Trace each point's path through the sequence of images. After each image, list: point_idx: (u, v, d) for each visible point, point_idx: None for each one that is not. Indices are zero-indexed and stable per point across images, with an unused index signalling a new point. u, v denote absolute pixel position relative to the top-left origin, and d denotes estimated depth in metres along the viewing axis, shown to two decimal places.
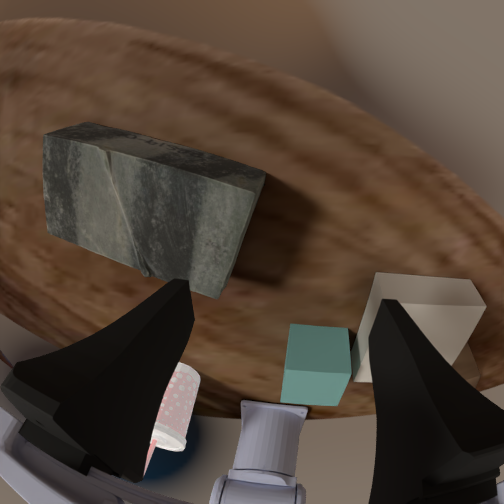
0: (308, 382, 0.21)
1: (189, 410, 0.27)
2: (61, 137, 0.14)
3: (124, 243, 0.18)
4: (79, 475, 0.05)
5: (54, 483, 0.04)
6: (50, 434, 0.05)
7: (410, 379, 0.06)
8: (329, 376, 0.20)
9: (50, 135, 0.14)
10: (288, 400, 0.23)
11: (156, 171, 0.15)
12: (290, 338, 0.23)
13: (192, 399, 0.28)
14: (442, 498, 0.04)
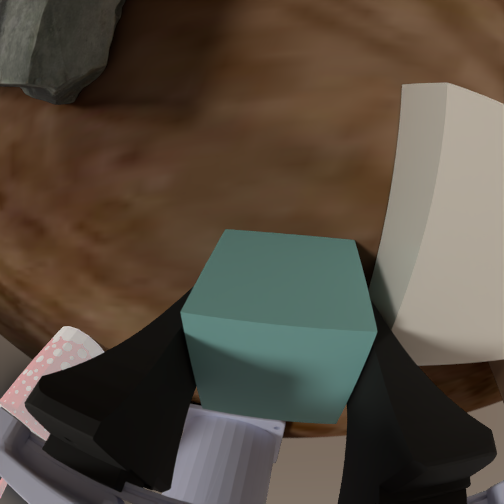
0: (254, 359, 0.08)
1: None
2: None
3: None
4: (79, 475, 0.05)
5: (54, 483, 0.04)
6: (79, 450, 0.05)
7: (374, 379, 0.07)
8: (311, 340, 0.07)
9: None
10: (218, 406, 0.10)
11: None
12: (216, 250, 0.10)
13: None
14: None
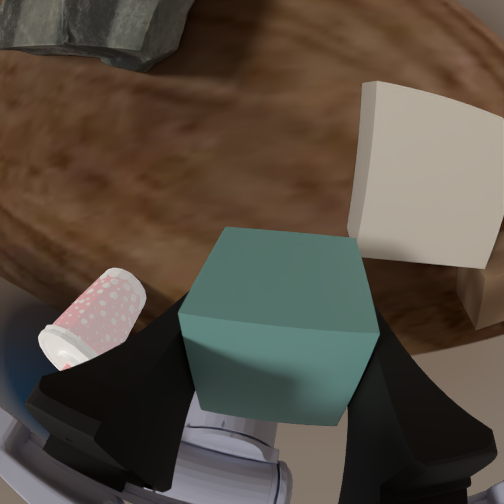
0: (253, 361, 0.08)
1: (120, 328, 0.20)
2: None
3: (54, 19, 0.09)
4: (79, 475, 0.05)
5: (54, 483, 0.04)
6: (79, 450, 0.05)
7: (375, 380, 0.07)
8: (312, 342, 0.07)
9: None
10: (217, 408, 0.09)
11: None
12: (215, 249, 0.10)
13: (127, 315, 0.21)
14: None
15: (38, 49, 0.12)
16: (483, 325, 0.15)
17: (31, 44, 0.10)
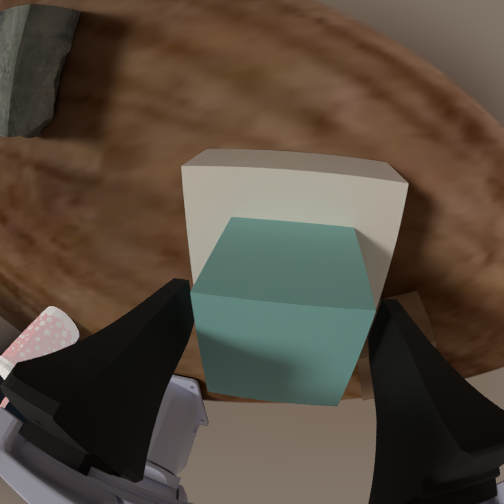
0: (259, 338, 0.08)
1: None
2: None
3: None
4: (79, 475, 0.05)
5: (54, 483, 0.04)
6: (50, 434, 0.05)
7: (410, 379, 0.06)
8: (314, 318, 0.08)
9: None
10: (223, 389, 0.10)
11: None
12: (223, 237, 0.11)
13: (59, 348, 0.22)
14: (442, 498, 0.04)
15: None
16: (372, 396, 0.16)
17: None
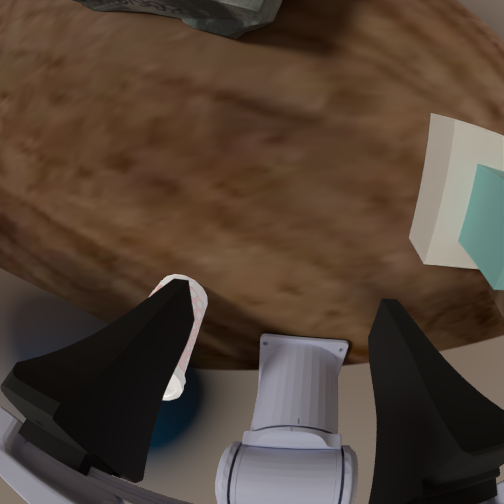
0: None
1: (191, 335, 0.21)
2: None
3: None
4: (79, 475, 0.05)
5: (54, 483, 0.04)
6: (50, 434, 0.05)
7: (410, 379, 0.06)
8: None
9: None
10: None
11: None
12: (495, 172, 0.11)
13: (196, 322, 0.22)
14: (442, 498, 0.04)
15: (111, 0, 0.11)
16: None
17: None
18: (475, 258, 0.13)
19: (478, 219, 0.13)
